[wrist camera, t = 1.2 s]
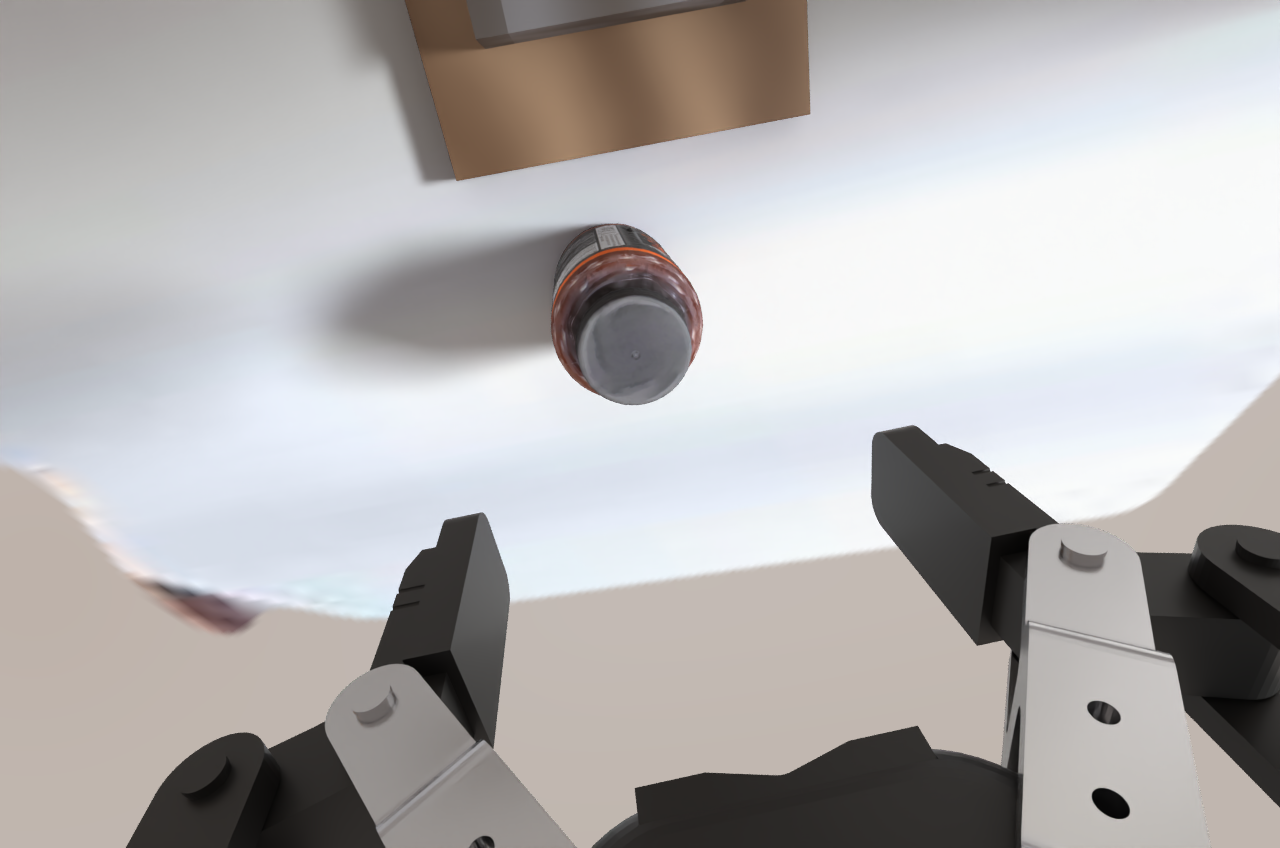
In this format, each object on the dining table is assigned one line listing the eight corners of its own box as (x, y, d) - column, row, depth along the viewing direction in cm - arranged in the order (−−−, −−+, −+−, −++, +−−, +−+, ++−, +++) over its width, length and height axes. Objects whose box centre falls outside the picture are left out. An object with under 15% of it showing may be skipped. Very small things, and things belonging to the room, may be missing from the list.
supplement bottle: (692, 293, 31) (753, 372, 21) (600, 358, 32) (617, 462, 22) (626, 194, 29) (660, 230, 19) (529, 268, 30) (511, 340, 20)
